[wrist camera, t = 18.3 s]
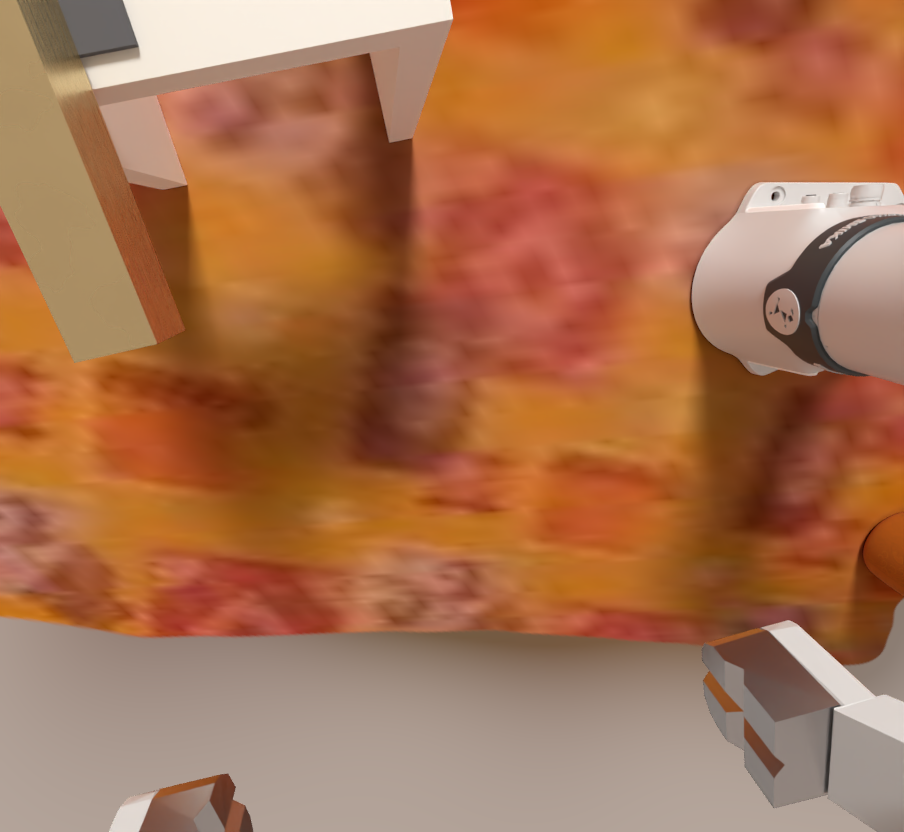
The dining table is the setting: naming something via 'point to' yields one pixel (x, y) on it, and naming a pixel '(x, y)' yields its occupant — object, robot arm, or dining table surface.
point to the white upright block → (242, 58)
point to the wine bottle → (887, 552)
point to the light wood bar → (73, 193)
